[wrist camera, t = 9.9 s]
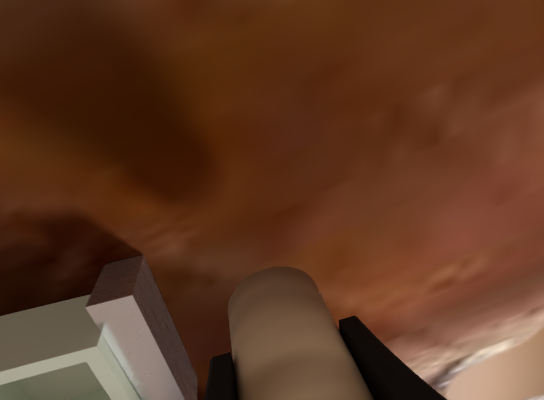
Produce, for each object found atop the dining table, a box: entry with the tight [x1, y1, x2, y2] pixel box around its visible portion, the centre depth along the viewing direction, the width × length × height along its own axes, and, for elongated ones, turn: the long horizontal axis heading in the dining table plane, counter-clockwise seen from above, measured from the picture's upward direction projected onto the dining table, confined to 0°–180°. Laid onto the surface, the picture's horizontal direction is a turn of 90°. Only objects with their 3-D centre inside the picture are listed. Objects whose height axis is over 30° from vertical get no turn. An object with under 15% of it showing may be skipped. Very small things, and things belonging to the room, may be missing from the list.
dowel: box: [228, 267, 374, 400], centre depth 9 cm, size 4×4×8 cm
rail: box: [85, 255, 197, 400], centre depth 17 cm, size 11×2×3 cm, turn 9°
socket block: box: [0, 294, 142, 400], centre depth 16 cm, size 8×8×4 cm
